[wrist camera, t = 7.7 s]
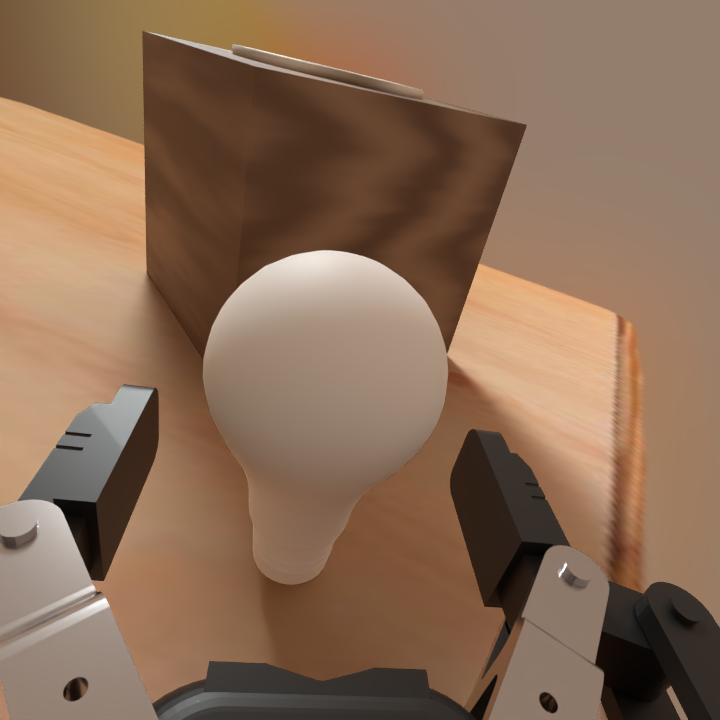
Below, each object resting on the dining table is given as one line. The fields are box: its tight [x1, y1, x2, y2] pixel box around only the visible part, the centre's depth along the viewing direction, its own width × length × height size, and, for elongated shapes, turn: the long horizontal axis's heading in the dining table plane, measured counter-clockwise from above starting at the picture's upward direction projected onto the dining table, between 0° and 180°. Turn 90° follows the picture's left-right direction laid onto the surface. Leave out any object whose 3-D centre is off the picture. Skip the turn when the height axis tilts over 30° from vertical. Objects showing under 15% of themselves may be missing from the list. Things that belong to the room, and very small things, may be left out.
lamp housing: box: [142, 31, 527, 359], centre depth 29 cm, size 15×15×14 cm
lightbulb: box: [203, 250, 448, 585], centre depth 14 cm, size 6×6×11 cm
